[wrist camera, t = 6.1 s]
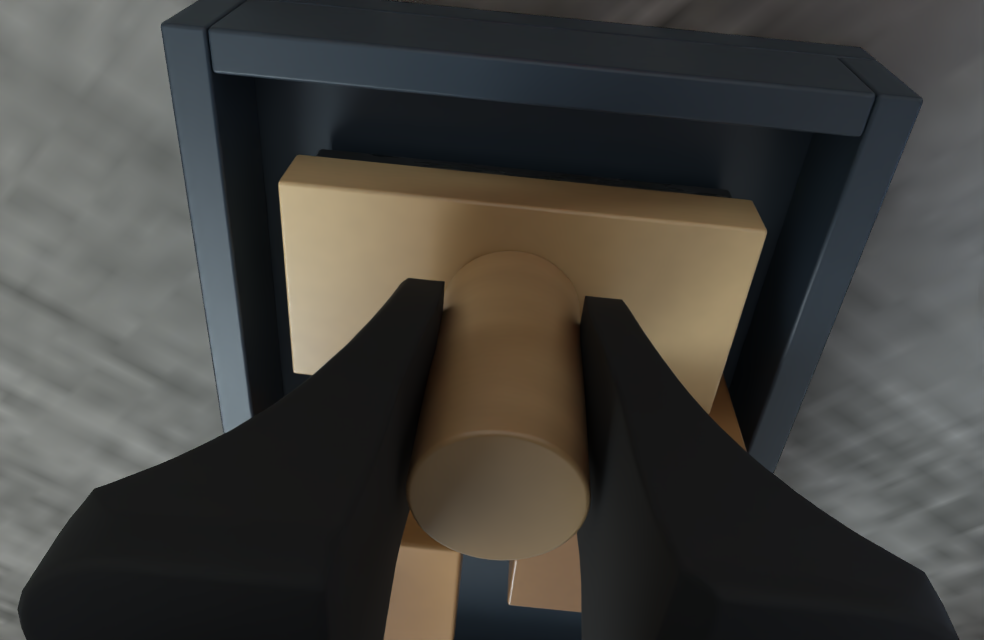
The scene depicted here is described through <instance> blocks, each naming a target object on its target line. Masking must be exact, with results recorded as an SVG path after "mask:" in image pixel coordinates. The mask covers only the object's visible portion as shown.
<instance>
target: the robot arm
mask: <svg viewBox="0 0 984 640" xmlns="http://www.w3.org/2000/svg"><path fill="white" fill-rule="evenodd" d="M444 287H445V281H436V280H426V279H416V278H407V279H406V280H404V281H403V282H402V283H401V284H400V285H399V286H398V288H397V289H396V290H395V292H394V293H393V294H392V295H391V297H390V298H389V299H388V300H387V302H386V303H385V304H384V305H383V306H382V307H381V309H380V310H379V311H378V312H377V313H376V314H375V315H374V316H373V318H372V319H371V320H370V321H369V322H368V323H367V324H366V325H365V326H364V327H363V328H362V329H361V330H360V331H359V332H358V333H357V334H356V335H355V336H354V338H353V339H352V340H351V341H350V342H349V343H348V344H347V345H345V346H344V347H343V348H342V349H341V350H340V351H339V352H338V353H337V354H336V355H335V356H333V357H332V358H331V359H330V360H329V361H328V362H327V363H326V364H325V365H323V366H322V367H321V368H320V369H319V370H318V371H317V372H315V373H314V374H313V375H312V376H311V377H309V378H308V379H307V380H306V381H304V382H303V383H302V384H301V385H299V386H298V387H297V388H295V389H294V390H293V391H291V392H290V393H289V394H287V395H286V396H284V397H283V398H282V399H280V400H279V401H278V402H276V403H275V404H273V405H272V406H270V407H268V408H267V409H265V410H264V411H262V412H260V413H259V414H257V415H255V416H254V417H252V418H250V419H249V420H247V421H245V422H244V423H242V424H240V425H239V426H237V427H235V428H234V429H232V430H230V431H228V432H227V433H225V434H223V435H221V436H219V437H217V438H215V439H213V440H211V441H209V442H207V443H205V444H203V445H201V446H199V447H197V448H195V449H193V450H190V451H188V452H186V453H184V454H182V455H180V456H178V457H175V458H173V459H171V460H168V461H166V462H164V463H162V464H159V465H157V466H154V467H151V468H149V469H146V470H144V471H141V472H138V473H136V474H133V475H131V476H128V477H125V478H123V479H120V480H118V481H115V482H112V483H110V484H107V485H104V486H101V487H98V488H95V489H94V490H93V491H92V492H91V493H90V495H89V496H88V497H87V499H86V500H85V501H84V502H83V504H82V505H81V506H80V507H79V508H78V510H77V511H76V512H75V513H74V514H73V516H72V517H71V518H70V519H69V521H68V522H67V524H66V525H65V526H64V528H63V529H62V531H61V532H60V533H59V535H58V536H57V538H56V539H55V541H54V543H53V544H52V546H51V547H50V549H49V550H48V552H47V553H46V555H45V556H44V558H43V559H42V561H41V563H40V564H39V566H38V567H37V569H36V570H35V572H34V573H33V575H32V576H31V578H30V580H29V581H28V583H27V584H26V586H25V587H24V589H23V590H22V594H21V597H20V601H19V605H18V614H19V618H20V623H21V627H22V630H23V632H24V635H25V637H26V639H27V640H384V634H385V627H386V621H387V615H388V609H389V603H390V597H391V591H392V585H393V579H394V573H395V567H396V562H397V558H398V553H399V549H400V544H401V540H402V536H403V532H404V529H405V525H406V522H407V518H408V514H409V511H410V509H409V506H408V502H407V498H406V480H407V475H408V470H409V465H410V460H411V455H412V451H413V446H414V441H415V436H416V431H417V426H418V421H419V416H420V411H421V406H422V401H423V396H424V392H425V388H426V384H427V379H428V375H429V371H430V367H431V364H432V360H433V356H434V353H435V349H436V345H437V340H438V335H439V329H440V324H441V319H442V314H443V304H444ZM580 337H581V353H582V367H583V376H584V388H585V404H586V421H587V437H588V453H589V469H590V486H591V505H590V509H589V512H588V515H587V517H586V519H585V521H584V523H583V525H582V526H581V528H580V529H579V530H578V532H577V540H578V549H579V558H580V573H581V634H582V640H959V638H958V636H957V634H956V632H955V630H954V627H953V625H952V623H951V620H950V618H949V616H948V614H947V612H946V610H945V608H944V605H943V604H942V602H941V600H940V598H939V597H938V595H937V593H936V591H935V590H934V588H933V586H932V584H931V583H930V581H929V579H928V578H927V576H926V574H925V572H923V571H922V570H920V569H918V568H916V567H915V566H913V565H911V564H909V563H908V562H906V561H904V560H902V559H901V558H899V557H897V556H895V555H894V554H892V553H890V552H888V551H887V550H885V549H883V548H881V547H880V546H878V545H876V544H874V543H873V542H871V541H869V540H867V539H866V538H864V537H862V536H860V535H859V534H857V533H856V532H854V531H852V530H851V529H849V528H848V527H846V526H845V525H843V524H842V523H840V522H839V521H837V520H836V519H834V518H833V517H831V516H830V515H828V514H827V513H825V512H824V511H822V510H821V509H819V508H818V507H816V506H815V505H813V504H812V503H811V502H809V501H808V500H806V499H805V498H804V497H802V496H801V495H800V494H798V493H797V492H795V491H794V490H793V489H791V488H790V487H789V486H788V485H786V484H785V483H784V482H783V481H781V480H780V479H779V478H778V477H776V476H775V475H774V474H773V473H771V472H770V471H769V470H768V469H766V468H765V467H764V466H763V465H761V464H760V463H759V462H758V461H757V460H756V459H754V458H753V457H752V456H751V455H750V454H749V453H747V452H746V451H745V450H744V449H743V448H742V447H741V446H740V445H739V444H738V443H737V442H736V441H735V440H734V439H733V438H732V437H730V436H729V435H728V434H727V433H726V432H725V431H724V430H723V429H722V428H721V427H720V426H719V425H718V424H717V423H716V422H715V421H714V420H713V419H712V418H711V417H710V416H709V415H708V414H707V412H706V411H705V410H704V409H703V408H702V407H701V406H700V405H699V403H698V402H697V401H696V400H695V399H694V398H693V397H692V395H691V394H690V393H689V392H688V391H687V390H686V388H685V387H684V386H683V385H682V383H681V382H680V381H679V380H678V378H677V377H676V376H675V374H674V373H673V372H672V370H671V369H670V368H669V366H668V365H667V364H666V362H665V361H664V360H663V358H662V357H661V356H660V354H659V353H658V351H657V350H656V349H655V347H654V346H653V344H652V343H651V341H650V340H649V338H648V337H647V335H646V334H645V332H644V331H643V329H642V328H641V326H640V325H639V323H638V322H637V320H636V319H635V317H634V316H633V314H632V312H631V311H630V309H629V308H628V306H627V305H626V304H625V302H624V301H623V300H622V299H613V298H603V297H593V296H585V299H584V305H583V310H582V316H581V321H580Z"/></svg>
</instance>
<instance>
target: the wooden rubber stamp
mask: <svg viewBox="0 0 984 640" xmlns="http://www.w3.org/2000/svg"><path fill="white" fill-rule="evenodd" d="M278 188H279V201H280V214H281V226H282V239H283V251H284V264H285V276H286V289H287V301H288V314H289V326H290V339H291V351H292V364H293V372H294V373H296V374H306V375H313V374H314V373H315V372H317V371H318V370H319V369H320V368H321V367H322V366H323V365H325V364H326V363H327V362H328V361H329V360H330V359H331V358H332V357H333V356H335V355H336V354H337V353H338V352H339V351H340V350H341V349H342V348H343V347H344V346H345V345H347V344H348V343H349V342H350V341H351V340H352V339H353V338H354V336H355V335H356V334H357V333H358V332H359V331H360V330H361V329H362V328H363V327H364V326H365V325H366V324H367V323H368V322H369V321H370V320H371V319H372V318H373V316H374V315H375V314H376V313H377V312H378V311H379V310H380V309H381V307H382V306H383V305H384V304H385V303H386V302H387V300H388V299H389V298H390V297H391V295H392V294H393V293H394V292H395V290H396V289H397V288H398V286H399V285H400V284H401V283H402V282H403V281H404V280H406V279H407V278H416V279H426V280H436V281H445V287H444V304H443V314H442V319H441V324H440V329H439V335H438V340H437V345H436V349H435V353H434V356H433V360H432V364H431V367H430V371H429V375H428V379H427V384H426V388H425V392H424V396H423V401H422V406H421V411H420V416H419V421H418V426H417V431H416V436H415V441H414V446H413V451H412V455H411V460H410V465H409V470H408V475H407V480H406V498H407V502H408V506H409V509H410V511H411V513H412V515H413V517H414V519H415V520H416V522H417V523H418V525H419V526H420V527H421V528H422V529H423V530H424V531H425V532H426V533H427V534H428V535H429V536H430V537H432V538H433V539H434V540H436V541H437V542H439V543H440V544H442V545H444V546H446V547H447V548H449V549H452V550H454V551H456V552H459V553H462V554H465V555H468V556H472V557H476V558H481V559H488V560H518V559H525V558H530V557H535V556H538V555H541V554H544V553H547V552H549V551H551V550H554V549H556V548H557V547H559V546H561V545H563V544H564V543H565V542H567V541H568V540H569V539H571V538H572V537H573V536H574V535H575V534H576V533H577V532H578V530H579V529H580V528H581V526H582V525H583V523H584V521H585V519H586V517H587V515H588V512H589V509H590V505H591V486H590V469H589V453H588V437H587V421H586V404H585V388H584V376H583V367H582V353H581V337H580V321H581V316H582V310H583V305H584V299H585V296H593V297H603V298H613V299H622V300H623V301H624V302H625V304H626V305H627V306H628V308H629V309H630V311H631V312H632V314H633V316H634V317H635V319H636V320H637V322H638V323H639V325H640V326H641V328H642V329H643V331H644V332H645V334H646V335H647V337H648V338H649V340H650V341H651V343H652V344H653V346H654V347H655V349H656V350H657V351H658V353H659V354H660V356H661V357H662V358H663V360H664V361H665V362H666V364H667V365H668V366H669V368H670V369H671V370H672V372H673V373H674V374H675V376H676V377H677V378H678V380H679V381H680V382H681V383H682V385H683V386H684V387H685V388H686V390H687V391H688V392H689V393H690V394H691V395H692V397H693V398H694V399H695V400H696V401H697V402H698V403H699V405H700V406H701V407H702V408H703V409H704V410H705V411H706V412H707V414H708V415H709V413H710V411H711V408H712V405H713V401H714V398H715V395H716V392H717V389H718V386H719V383H720V380H721V376H722V373H723V370H724V367H725V364H726V361H727V358H728V354H729V351H730V348H731V345H732V342H733V339H734V336H735V332H736V329H737V326H738V323H739V320H740V317H741V314H742V310H743V307H744V304H745V301H746V298H747V295H748V292H749V289H750V285H751V282H752V279H753V276H754V273H755V270H756V267H757V263H758V260H759V257H760V254H761V251H762V248H763V245H764V241H765V238H766V235H767V229H766V227H765V225H764V223H763V221H762V219H761V217H760V215H759V213H758V211H757V209H756V207H755V205H754V203H753V201H751V200H745V199H735V198H732V196H731V194H730V191H728V190H724V189H714V188H704V187H694V186H684V185H674V184H664V183H654V182H644V181H634V180H624V179H614V178H604V177H594V176H585V175H575V174H565V173H555V172H545V171H535V170H525V169H515V168H505V167H495V166H485V165H475V164H465V163H455V162H446V161H436V160H426V159H416V158H406V157H396V156H386V155H376V154H366V153H356V152H346V151H336V150H326V149H321V150H319V151H318V153H317V155H316V156H308V155H297V156H296V157H295V158H294V160H293V161H292V163H291V164H290V166H289V167H288V169H287V170H286V172H285V173H284V175H283V176H282V177H281V179H280V180H279V183H278Z"/></svg>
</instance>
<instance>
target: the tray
mask: <svg viewBox="0 0 984 640" xmlns="http://www.w3.org/2000/svg"><path fill="white" fill-rule="evenodd" d="M161 31H162V37H163V44H164V50H165V57H166V63H167V69H168V76H169V82H170V89H171V95H172V102H173V108H174V115H175V121H176V128H177V134H178V141H179V147H180V154H181V160H182V167H183V173H184V180H185V186H186V193H187V199H188V206H189V212H190V219H191V225H192V232H193V238H194V244H195V251H196V257H197V264H198V270H199V277H200V283H201V290H202V296H203V303H204V309H205V316H206V322H207V329H208V335H209V342H210V348H211V355H212V361H213V368H214V374H215V381H216V387H217V394H218V400H219V407H220V413H221V420H222V426H223V432H224V434H225V433H227V432H228V431H230V430H232V429H234V428H235V427H237V426H239V425H240V424H242V423H244V422H245V421H247V420H249V419H250V418H252V417H254V416H255V415H257V414H259V413H260V412H262V411H264V410H265V409H267V408H268V407H270V406H272V405H273V404H275V403H276V402H278V401H279V400H280V399H282V398H283V397H284V396H286V395H287V394H289V393H290V392H291V391H293V390H294V389H295V388H297V387H298V386H299V385H301V384H302V383H303V382H304V381H306V380H307V379H308V378H309V377H311V376H312V375H306V374H296V373H294V372H293V364H292V351H291V339H290V326H289V314H288V301H287V289H286V276H285V264H284V251H283V239H282V226H281V214H280V201H279V188H278V183H279V180H280V179H281V177H282V176H283V175H284V173H285V172H286V170H287V169H288V167H289V166H290V164H291V163H292V161H293V160H294V158H295V157H296V156H297V155H308V156H316V155H317V153H318V151H319V150H321V149H326V150H336V151H346V152H356V153H366V154H376V155H386V156H396V157H406V158H416V159H426V160H436V161H446V162H455V163H465V164H475V165H485V166H495V167H505V168H515V169H525V170H535V171H545V172H555V173H565V174H575V175H585V176H594V177H604V178H614V179H624V180H634V181H644V182H654V183H664V184H674V185H684V186H694V187H704V188H714V189H724V190H728V191H730V194H731V196H732V198H735V199H745V200H751V201H753V203H754V205H755V207H756V209H757V211H758V213H759V215H760V217H761V219H762V221H763V223H764V225H765V227H766V229H767V235H766V238H765V241H764V245H763V248H762V251H761V254H760V257H759V260H758V263H757V267H756V270H755V273H754V276H753V279H752V282H751V285H750V289H749V292H748V295H747V298H746V301H745V304H744V307H743V310H742V314H741V317H740V320H739V323H738V326H737V329H736V332H735V336H734V339H733V342H732V345H731V348H730V351H729V354H728V358H727V361H726V364H725V367H724V370H723V374H724V378H725V381H726V384H727V388H728V391H729V394H730V398H731V401H732V404H733V408H734V411H735V414H736V417H737V421H738V424H739V427H740V431H741V434H742V437H743V441H744V444H745V447H746V451H747V453H749V454H750V455H751V456H752V457H753V458H754V459H756V460H757V461H758V462H759V463H760V464H761V465H763V466H764V467H765V468H766V469H768V470H769V471H770V472H771V473H774V471H775V468H776V466H777V463H778V461H779V458H780V456H781V453H782V451H783V448H784V446H785V443H786V441H787V438H788V436H789V433H790V431H791V428H792V426H793V423H794V421H795V418H796V416H797V413H798V411H799V409H800V406H801V404H802V401H803V399H804V396H805V394H806V391H807V389H808V386H809V384H810V381H811V379H812V376H813V374H814V371H815V369H816V366H817V364H818V361H819V359H820V356H821V354H822V351H823V349H824V346H825V344H826V341H827V339H828V336H829V334H830V331H831V329H832V327H833V324H834V322H835V319H836V317H837V314H838V312H839V309H840V307H841V304H842V302H843V299H844V297H845V294H846V292H847V289H848V287H849V284H850V282H851V279H852V277H853V274H854V272H855V269H856V267H857V264H858V262H859V259H860V257H861V254H862V252H863V250H864V247H865V245H866V242H867V240H868V237H869V235H870V232H871V230H872V227H873V225H874V222H875V220H876V217H877V215H878V212H879V210H880V207H881V205H882V202H883V200H884V197H885V195H886V192H887V190H888V187H889V185H890V182H891V180H892V177H893V175H894V172H895V170H896V168H897V165H898V163H899V160H900V158H901V155H902V153H903V150H904V148H905V145H906V143H907V140H908V138H909V135H910V133H911V130H912V128H913V125H914V123H915V120H916V118H917V115H918V113H919V110H920V108H921V105H922V102H923V99H922V98H921V97H920V96H919V95H918V94H916V93H915V92H914V91H913V90H912V89H910V88H909V87H908V86H907V85H906V84H904V83H903V82H902V81H901V80H899V79H898V78H897V77H896V76H895V75H893V74H892V73H891V72H890V71H889V70H887V69H886V68H885V67H884V66H883V65H881V64H880V63H879V62H878V61H876V59H874V58H873V57H872V56H871V55H870V54H868V53H867V52H866V51H865V50H864V49H862V48H861V47H851V46H841V45H831V44H821V43H811V42H801V41H791V40H781V39H771V38H761V37H751V36H740V35H730V34H720V33H710V32H700V31H690V30H680V29H670V28H660V27H650V26H640V25H629V24H619V23H609V22H599V21H589V20H579V19H569V18H559V17H549V16H539V15H529V14H518V13H508V12H498V11H488V10H478V9H468V8H458V7H448V6H438V5H428V4H418V3H407V2H397V1H387V0H198V1H197V2H195V3H194V4H192V5H190V6H189V7H187V8H185V9H184V10H182V11H181V12H179V13H177V14H176V15H174V16H172V17H171V18H169V19H168V20H166V21H164V22H163V23H162V24H161ZM508 573H509V560H488V559H481V558H476V557H472V556H468V555H465V554H463V562H462V572H461V581H460V590H459V599H458V609H457V618H456V627H455V637H454V640H582V634H581V612H572V611H562V610H552V609H542V608H532V607H522V606H512V605H509V604H508V602H507V594H508Z"/></svg>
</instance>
